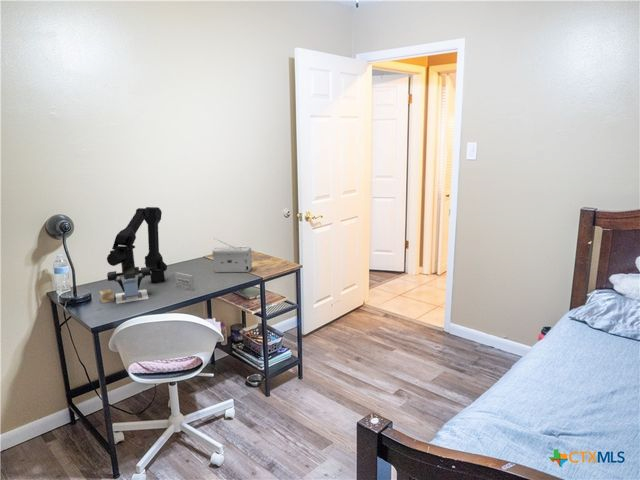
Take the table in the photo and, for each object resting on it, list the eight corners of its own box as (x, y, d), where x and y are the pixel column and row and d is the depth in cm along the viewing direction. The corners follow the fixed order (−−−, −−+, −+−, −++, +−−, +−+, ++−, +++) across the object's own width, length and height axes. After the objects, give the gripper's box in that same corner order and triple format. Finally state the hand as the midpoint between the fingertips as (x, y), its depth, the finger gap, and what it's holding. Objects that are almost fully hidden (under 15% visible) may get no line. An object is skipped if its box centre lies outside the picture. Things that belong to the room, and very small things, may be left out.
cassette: (195, 289, 223) (193, 275, 221) (192, 291, 221) (191, 276, 219) (178, 285, 229) (176, 271, 227) (175, 287, 227) (174, 272, 225)
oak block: (112, 298, 212) (111, 289, 211) (114, 302, 208) (113, 292, 207) (100, 301, 209) (99, 291, 208) (102, 304, 205) (101, 294, 204)
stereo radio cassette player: (252, 268, 256) (250, 234, 251) (250, 273, 248) (248, 238, 243) (216, 268, 256) (213, 235, 251) (212, 273, 248) (210, 238, 243)
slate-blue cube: (137, 290, 217) (136, 278, 216) (138, 294, 212) (137, 282, 210) (124, 292, 215) (123, 280, 213) (125, 296, 209) (123, 284, 208)
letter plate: (146, 290, 223) (146, 289, 223) (148, 299, 210) (148, 298, 210) (115, 294, 217) (115, 293, 217) (116, 304, 205) (116, 303, 204)
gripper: (105, 266, 198) (110, 299, 202) (150, 261, 206) (153, 293, 210) (105, 260, 208) (109, 292, 212) (147, 255, 216) (151, 285, 219)
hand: (131, 290), depth 213 cm, fingers closed on slate-blue cube, 6 cm apart
